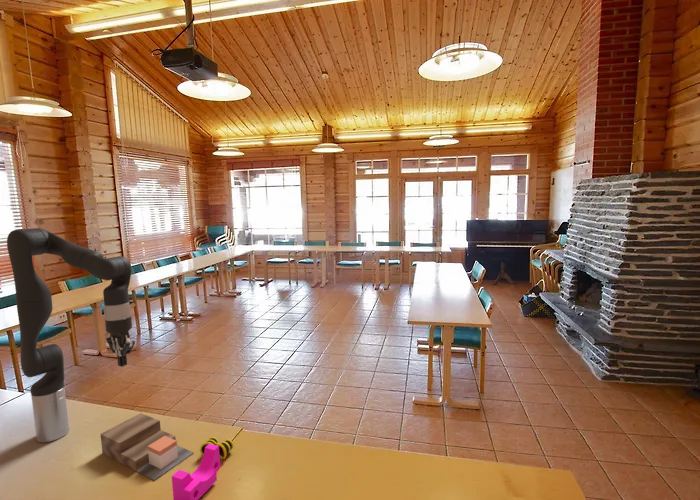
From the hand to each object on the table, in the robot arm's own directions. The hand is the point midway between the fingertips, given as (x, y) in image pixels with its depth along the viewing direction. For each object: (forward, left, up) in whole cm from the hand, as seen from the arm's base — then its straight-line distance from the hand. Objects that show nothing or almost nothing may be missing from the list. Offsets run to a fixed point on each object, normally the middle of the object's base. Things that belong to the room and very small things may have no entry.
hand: (122, 365), depth 124 cm
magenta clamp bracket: (+38, -1, -29) cm, 48 cm away
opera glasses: (+32, +10, -29) cm, 44 cm away
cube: (+18, 0, -23) cm, 29 cm away
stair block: (+10, 0, -29) cm, 31 cm away
